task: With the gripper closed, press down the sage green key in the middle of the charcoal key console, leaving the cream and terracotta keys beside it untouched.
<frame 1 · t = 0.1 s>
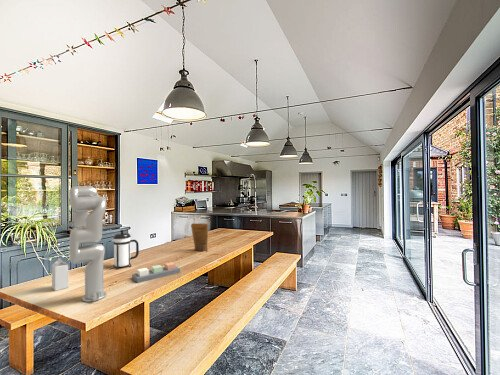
hand: (81, 234, 186), 31 cm above the table, tool pointing down, fingers open, 9 cm apart
sage key: (156, 269, 189), point 4 cm above the table, slide at 0.0 cm
terracotta key: (169, 267, 196), point 4 cm above the table, slide at 0.0 cm
milk carton: (60, 288, 167), on the table
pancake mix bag: (200, 251, 259), on the table
cream key: (142, 273, 182), point 4 cm above the table, slide at 0.0 cm
coffee press: (124, 266, 211), on the table
key console: (156, 275, 189), on the table
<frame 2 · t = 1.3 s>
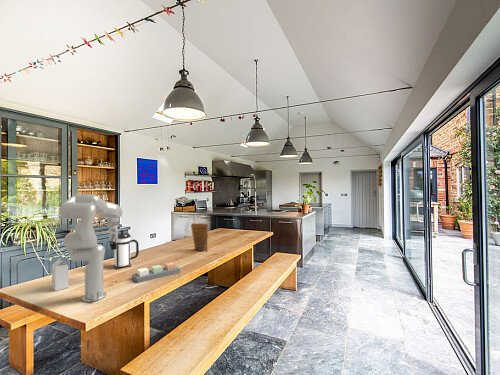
hand: (113, 248, 182), 22 cm above the table, tool pointing down, fingers open, 9 cm apart
nothing on the table moved.
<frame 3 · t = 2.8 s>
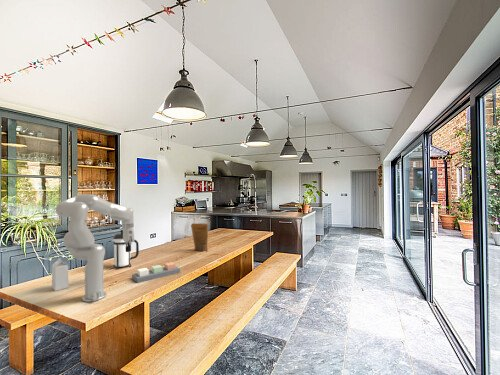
hand: (128, 251, 182), 19 cm above the table, tool pointing down, fingers closed
nothing on the table moved.
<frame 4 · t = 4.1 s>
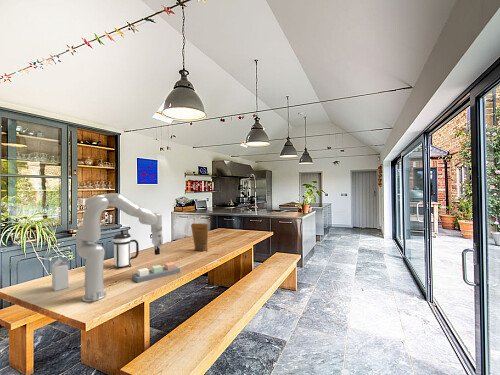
hand: (157, 254, 189), 15 cm above the table, tool pointing down, fingers closed
nothing on the table moved.
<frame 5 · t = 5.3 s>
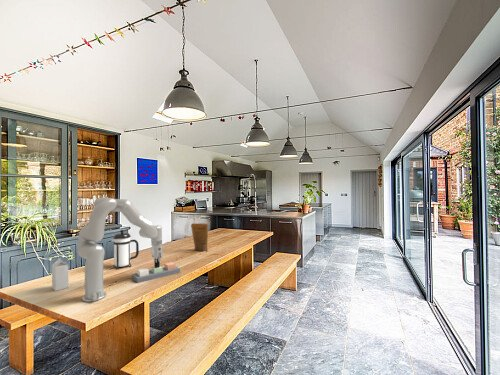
hand: (157, 267, 189), 6 cm above the table, tool pointing down, fingers closed
sage key: (156, 270, 189), point 3 cm above the table, slide at 0.6 cm, touching gripper
everything else where it was.
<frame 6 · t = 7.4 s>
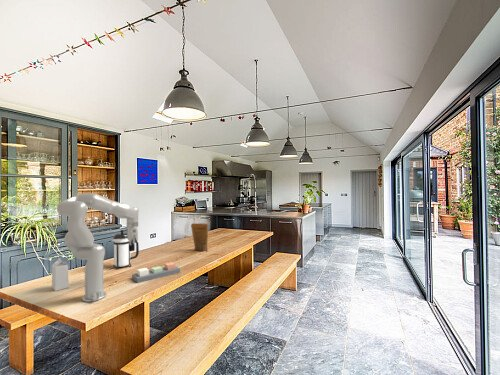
hand: (131, 250, 181), 20 cm above the table, tool pointing down, fingers closed
sage key: (156, 271, 189), point 3 cm above the table, slide at 1.0 cm
everything else where it was.
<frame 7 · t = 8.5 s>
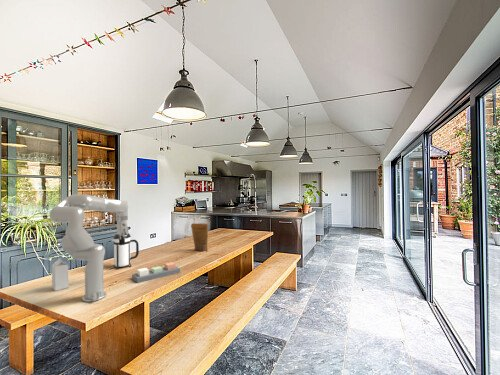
hand: (122, 244, 179), 25 cm above the table, tool pointing down, fingers closed
nothing on the table moved.
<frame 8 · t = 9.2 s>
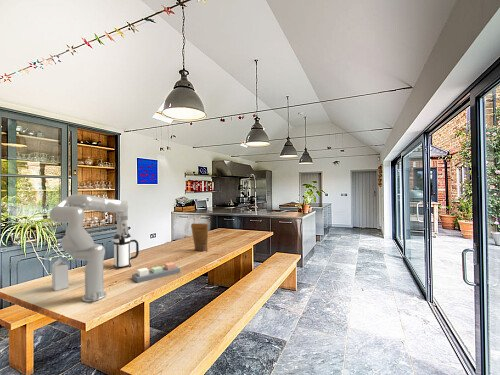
hand: (122, 244, 179), 25 cm above the table, tool pointing down, fingers closed
nothing on the table moved.
at the end: sage key slide at 1.0 cm; cream key slide at 0.0 cm; terracotta key slide at 0.0 cm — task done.
